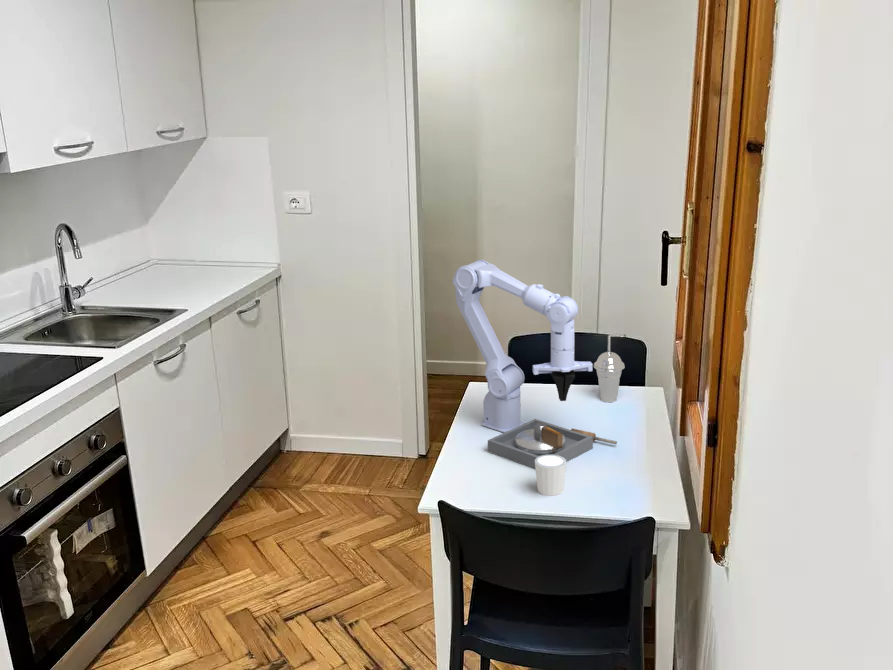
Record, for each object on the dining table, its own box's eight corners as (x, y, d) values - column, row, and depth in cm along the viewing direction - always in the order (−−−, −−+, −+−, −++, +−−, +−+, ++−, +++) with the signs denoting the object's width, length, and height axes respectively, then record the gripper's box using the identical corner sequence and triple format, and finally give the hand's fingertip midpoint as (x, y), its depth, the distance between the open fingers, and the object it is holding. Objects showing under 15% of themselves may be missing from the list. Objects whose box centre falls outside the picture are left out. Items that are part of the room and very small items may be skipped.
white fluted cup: (546, 500, 177) (546, 470, 175) (528, 487, 183) (528, 458, 181) (572, 492, 180) (572, 462, 178) (554, 480, 186) (554, 451, 184)
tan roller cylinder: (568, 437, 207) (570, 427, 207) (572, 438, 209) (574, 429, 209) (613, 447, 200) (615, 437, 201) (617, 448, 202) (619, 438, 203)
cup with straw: (615, 392, 238) (616, 325, 232) (630, 403, 230) (632, 333, 224) (588, 396, 236) (588, 328, 230) (602, 407, 227) (603, 337, 222)
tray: (487, 451, 202) (487, 440, 201) (535, 429, 214) (535, 418, 213) (546, 472, 189) (546, 460, 189) (592, 448, 202) (592, 436, 201)
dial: (505, 442, 203) (505, 422, 202) (544, 430, 209) (544, 411, 208) (539, 461, 192) (539, 439, 191) (579, 448, 198) (579, 427, 197)
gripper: (536, 353, 198) (536, 407, 202) (595, 350, 199) (595, 403, 203) (530, 345, 205) (531, 397, 209) (588, 342, 206) (588, 393, 210)
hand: (562, 399), depth 206 cm, fingers closed
